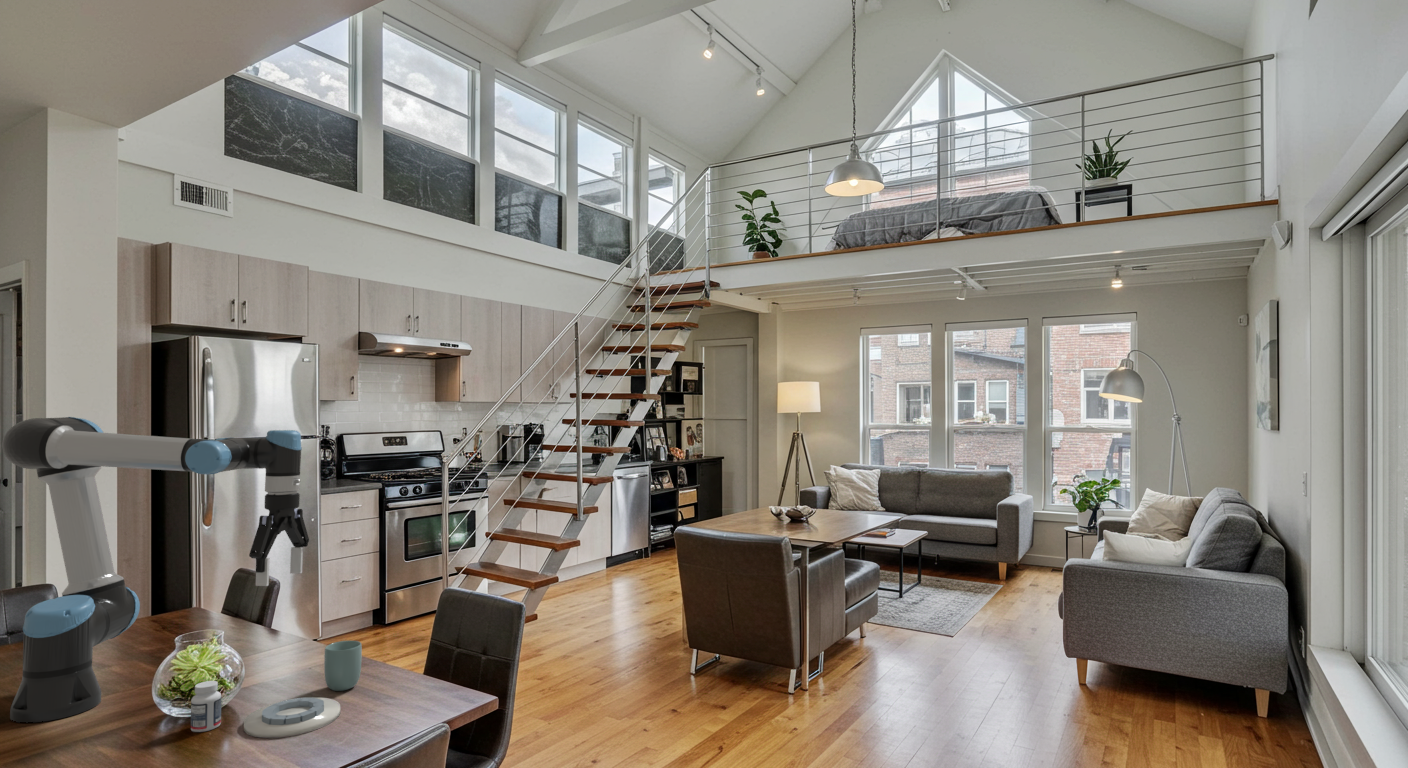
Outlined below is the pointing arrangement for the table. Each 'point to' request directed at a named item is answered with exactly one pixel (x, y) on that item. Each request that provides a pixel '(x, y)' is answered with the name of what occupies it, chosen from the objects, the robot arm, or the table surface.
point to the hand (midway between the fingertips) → (279, 579)
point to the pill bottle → (206, 707)
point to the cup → (342, 664)
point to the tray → (291, 717)
